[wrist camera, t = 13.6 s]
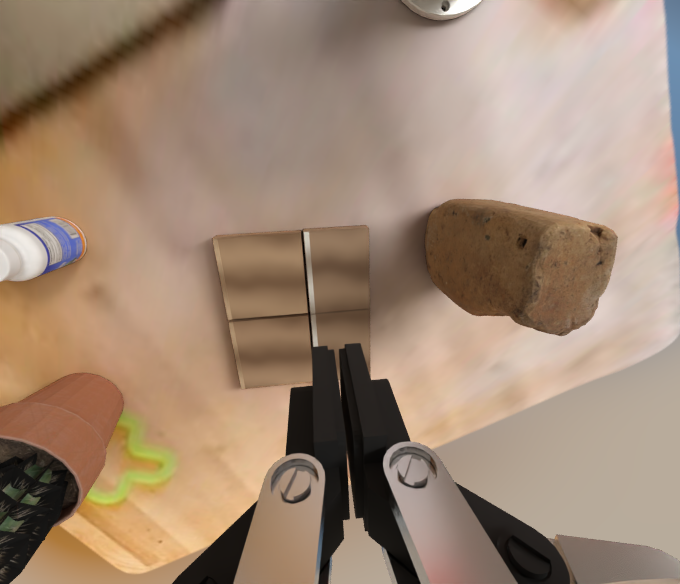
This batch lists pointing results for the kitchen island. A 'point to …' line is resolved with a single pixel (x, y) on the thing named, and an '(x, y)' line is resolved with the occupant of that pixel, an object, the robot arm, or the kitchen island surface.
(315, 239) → the laid board
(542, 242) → the block
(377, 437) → the robot arm
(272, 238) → the plank
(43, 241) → the pill bottle
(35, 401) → the potted plant
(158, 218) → the kitchen island surface
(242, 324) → the plank
